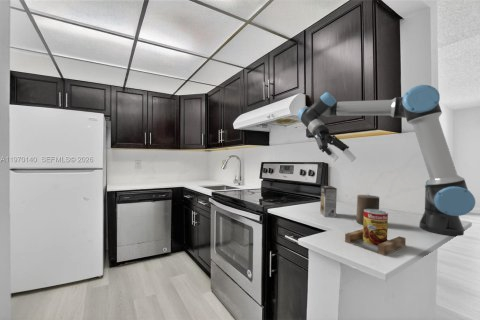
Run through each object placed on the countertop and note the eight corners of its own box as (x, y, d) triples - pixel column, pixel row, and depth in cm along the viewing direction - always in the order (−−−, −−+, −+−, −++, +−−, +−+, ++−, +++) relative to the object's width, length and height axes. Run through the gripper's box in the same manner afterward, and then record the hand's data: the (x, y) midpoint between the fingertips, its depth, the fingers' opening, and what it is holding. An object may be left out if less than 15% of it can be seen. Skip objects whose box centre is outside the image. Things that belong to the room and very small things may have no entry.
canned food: (370, 246, 81) (371, 213, 81) (358, 238, 89) (359, 208, 89) (391, 246, 81) (393, 214, 81) (378, 238, 89) (379, 209, 89)
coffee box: (319, 212, 132) (320, 185, 131) (331, 213, 131) (331, 185, 131) (324, 216, 122) (324, 187, 122) (336, 217, 122) (337, 187, 122)
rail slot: (367, 234, 95) (367, 227, 95) (405, 245, 83) (405, 237, 83) (345, 241, 87) (345, 233, 87) (384, 255, 75) (384, 246, 75)
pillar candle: (372, 227, 105) (373, 195, 105) (352, 221, 114) (353, 192, 113) (382, 224, 110) (383, 194, 110) (362, 219, 119) (364, 191, 118)
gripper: (329, 136, 123) (355, 165, 111) (297, 133, 110) (322, 165, 97) (338, 126, 119) (366, 154, 106) (306, 121, 105) (333, 153, 93)
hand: (345, 159), depth 102 cm, fingers open, 13 cm apart
